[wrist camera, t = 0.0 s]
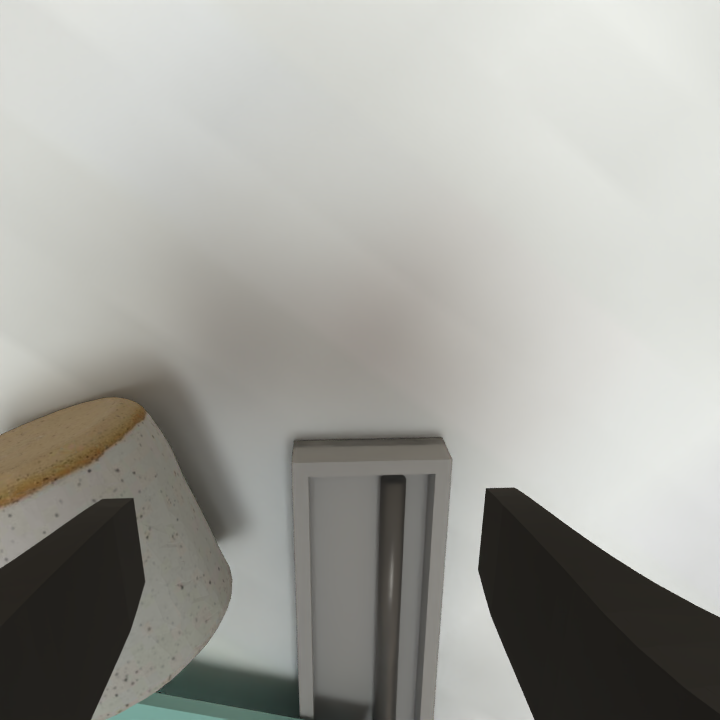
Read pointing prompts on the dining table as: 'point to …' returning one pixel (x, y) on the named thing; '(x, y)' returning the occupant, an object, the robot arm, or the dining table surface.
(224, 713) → the cover
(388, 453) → the grey open box
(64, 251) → the dining table surface
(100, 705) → the ceramic mug
